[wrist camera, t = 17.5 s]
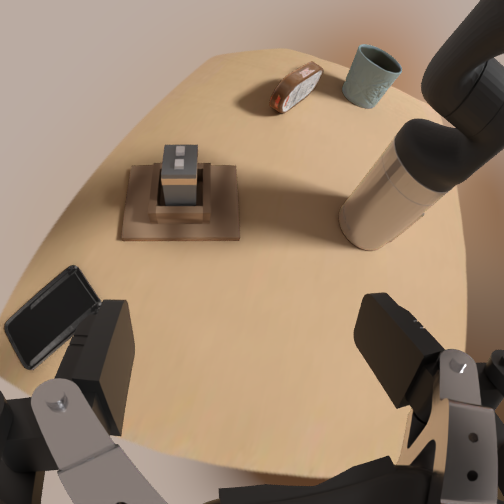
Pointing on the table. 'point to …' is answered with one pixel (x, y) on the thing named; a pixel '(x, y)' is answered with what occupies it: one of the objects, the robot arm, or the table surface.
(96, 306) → the phone
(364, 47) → the teal embossed cup
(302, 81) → the tin
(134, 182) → the dock
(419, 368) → the robot arm
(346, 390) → the table surface
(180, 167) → the cell
